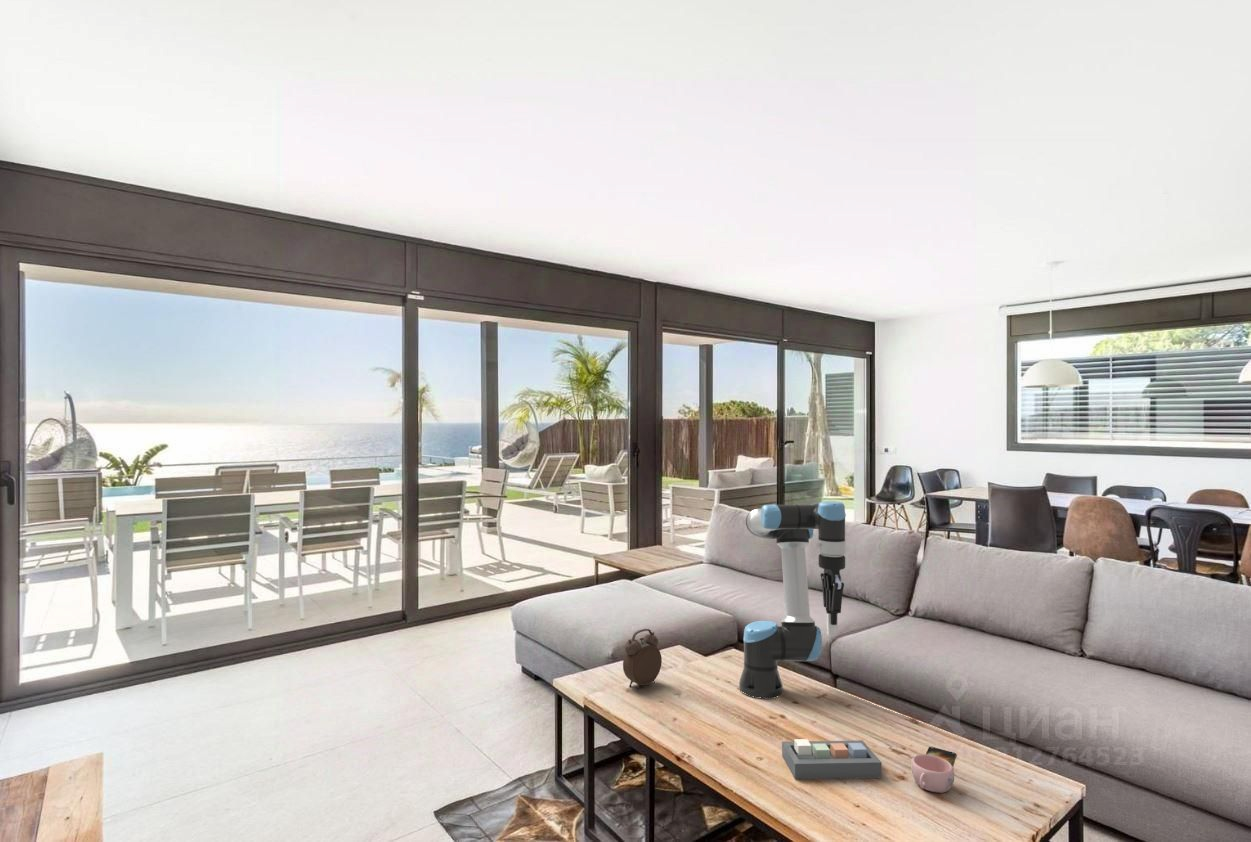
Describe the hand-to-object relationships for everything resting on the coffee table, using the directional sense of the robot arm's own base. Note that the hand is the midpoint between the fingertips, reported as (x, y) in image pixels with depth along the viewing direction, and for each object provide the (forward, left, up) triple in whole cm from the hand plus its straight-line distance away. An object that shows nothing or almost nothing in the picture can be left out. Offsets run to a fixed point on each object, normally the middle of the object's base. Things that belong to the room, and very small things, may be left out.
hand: (832, 634), depth 185 cm
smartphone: (+11, +25, -32) cm, 42 cm away
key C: (+13, -8, -28) cm, 33 cm away
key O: (+13, -13, -27) cm, 33 cm away
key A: (+13, +2, -28) cm, 32 cm away
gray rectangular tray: (+13, -6, -31) cm, 35 cm away
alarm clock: (-45, -54, -32) cm, 77 cm away
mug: (+24, +16, -32) cm, 43 cm away
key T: (+13, -3, -28) cm, 32 cm away
